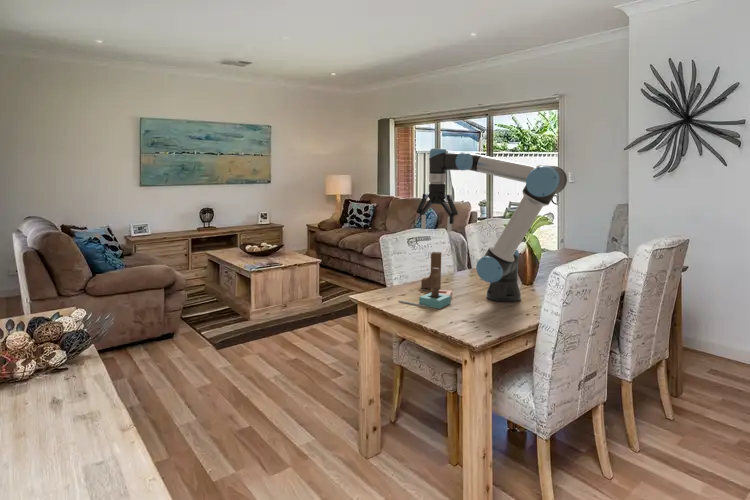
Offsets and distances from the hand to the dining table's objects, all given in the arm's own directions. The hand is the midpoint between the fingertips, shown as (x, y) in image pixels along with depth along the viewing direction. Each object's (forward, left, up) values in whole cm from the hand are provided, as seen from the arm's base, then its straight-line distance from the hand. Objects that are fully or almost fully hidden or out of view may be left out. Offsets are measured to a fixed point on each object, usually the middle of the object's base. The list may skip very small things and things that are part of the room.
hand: (436, 229), depth 226 cm
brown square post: (-8, +14, -31) cm, 35 cm away
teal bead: (-8, +14, -31) cm, 35 cm away
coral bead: (-6, +4, -31) cm, 32 cm away
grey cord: (0, +20, -31) cm, 37 cm away
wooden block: (+8, -10, -31) cm, 33 cm away
